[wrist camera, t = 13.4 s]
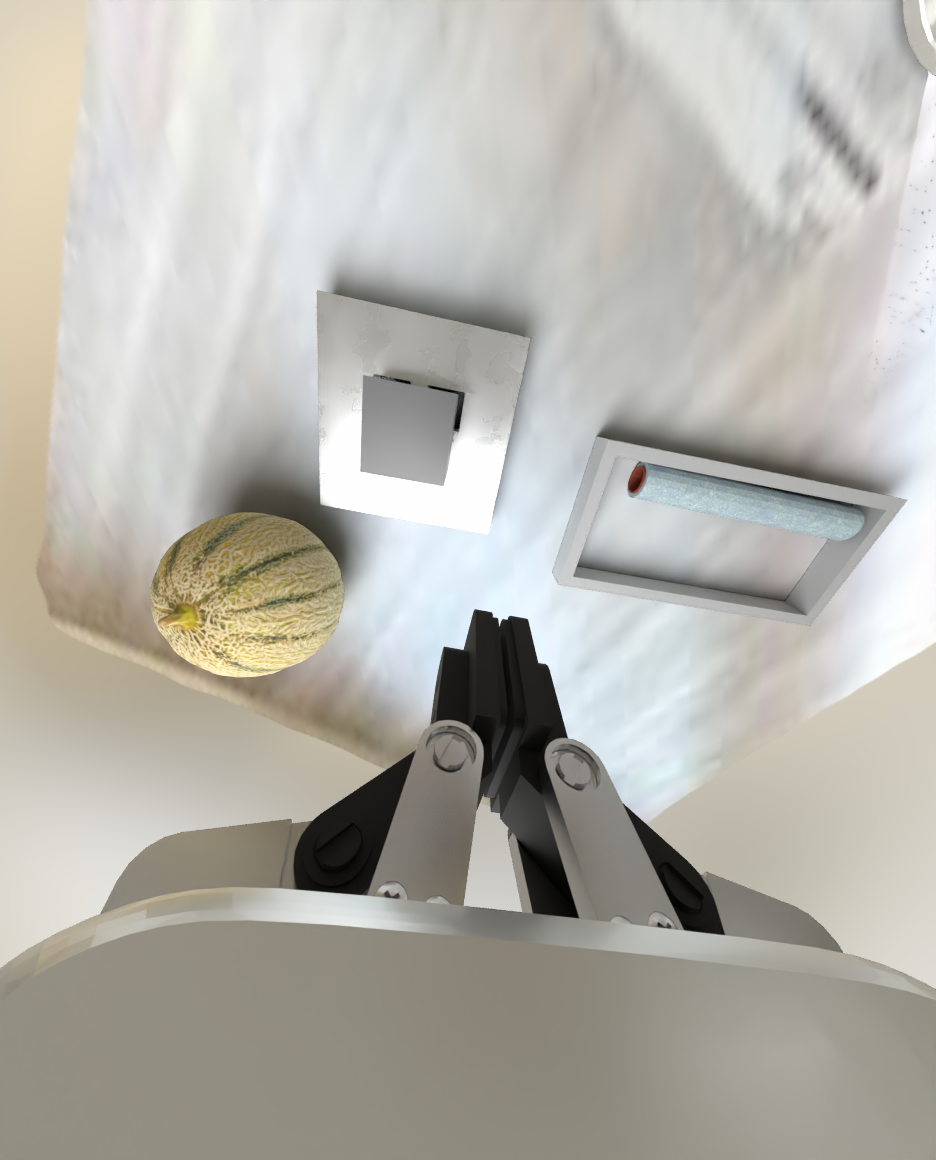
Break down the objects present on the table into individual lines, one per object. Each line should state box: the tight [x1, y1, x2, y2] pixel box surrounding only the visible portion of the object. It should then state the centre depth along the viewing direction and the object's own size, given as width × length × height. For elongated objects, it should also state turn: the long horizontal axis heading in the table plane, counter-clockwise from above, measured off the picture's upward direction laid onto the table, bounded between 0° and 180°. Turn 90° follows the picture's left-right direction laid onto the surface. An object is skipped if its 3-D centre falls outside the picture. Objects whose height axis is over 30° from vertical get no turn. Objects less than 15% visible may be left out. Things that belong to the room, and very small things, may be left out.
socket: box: [317, 290, 531, 534], centre depth 31 cm, size 16×16×3 cm
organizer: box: [552, 436, 907, 626], centre depth 36 cm, size 14×29×3 cm, turn 80°
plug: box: [360, 375, 459, 487], centre depth 28 cm, size 6×6×8 cm
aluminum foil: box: [627, 462, 864, 541], centre depth 33 cm, size 23×7×3 cm, turn 79°
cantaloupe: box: [150, 512, 345, 677], centre depth 32 cm, size 15×15×15 cm
